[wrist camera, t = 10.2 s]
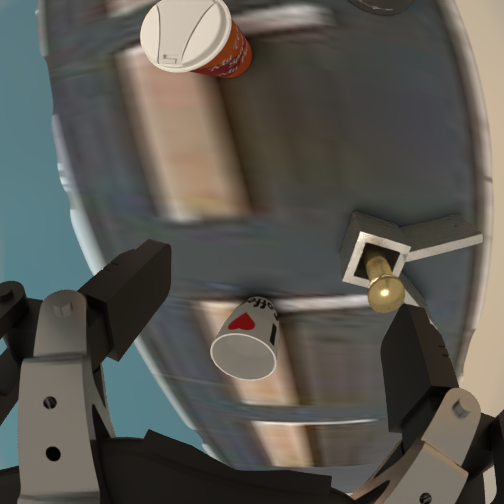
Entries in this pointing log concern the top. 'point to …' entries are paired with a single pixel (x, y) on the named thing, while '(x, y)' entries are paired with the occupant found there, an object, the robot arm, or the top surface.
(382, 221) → the grey finned stand
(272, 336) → the cup
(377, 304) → the pin
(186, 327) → the top surface
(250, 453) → the top surface
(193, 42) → the paper cup
